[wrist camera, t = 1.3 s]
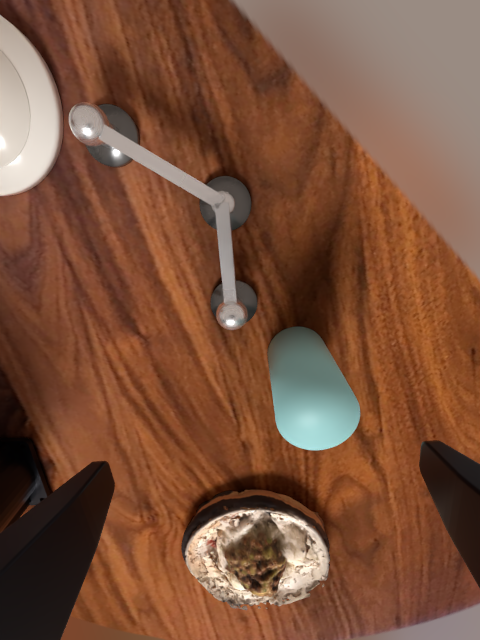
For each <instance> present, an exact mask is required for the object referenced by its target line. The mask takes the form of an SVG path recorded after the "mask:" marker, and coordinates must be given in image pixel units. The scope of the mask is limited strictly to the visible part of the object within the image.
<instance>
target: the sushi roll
mask: <svg viewBox="0 0 480 640" xmlns="http://www.w3.org/2000/svg"><path fill="white" fill-rule="evenodd" d="M181 549H182V553H183V558H184V560H185V562H186V564H187V567H188V569H189V570H190V572H191V574H193V575H194V576H195V577H196V579H198V582H200V583H201V584H202V585H203V586H204V587H205V588H206V589H207V591H208V592H209V593H211V594H213V596H214V597H215V598H216V599H218V600H221V601H223V602H227V603H228V604H229V605H230V607H232V608H237V607H236V606H238V607H239V609H244V610H247V607H246V606H245V605H244V606H243V607H242V608H240V605H241V604H249V605H250V606H253V605H255V604H256V605H259V602H262V603H264V604H266V602H269V603H270V604H272V603H273V604H274V605H278V606H281V605H282V604H289V603H292V602H293V601H297V600H300V599H303V598H305V597H309V596H310V593H308V592H309V591H311V590H312V589H313V588H314V587H316V585H318V584H320V582H319V580H321V581H322V580H326V579H327V577H328V569H329V566H330V564H329V561H330V555H329V541H328V538H327V535H326V533H325V530H324V524H323V519H321V518H320V517H319V515H318V512H317V513H316V512H312V511H310V510H309V509H308V508H307V507H305V506H303V505H302V504H300V503H299V502H297V501H296V500H293V498H291V497H288V496H286V495H283V494H278V493H274V492H272V491H266V490H245V491H244V492H241V493H238V492H234V491H231V490H230V491H225V492H222V493H220V494H217V495H216V496H214V497H213V499H212V500H210V501H206V502H204V503H202V504H201V505H200V506H199V509H198V510H197V511H196V515H195V516H194V517H193V518H192V520H191V522H190V524H189V525H188V527H187V528H186V530H185V533H184V536H183V540H182V548H181ZM193 575H192V576H193ZM323 586H324V584H323V585H322V587H323ZM307 593H308V594H307ZM287 598H288V599H290V600H289V601H288V600H286V599H287ZM271 599H272V600H271ZM282 600H285V602H283V601H282ZM232 604H233V605H232ZM258 608H259V609H260V608H261V607H259V606H258ZM266 609H267V608H266Z"/></svg>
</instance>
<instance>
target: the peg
mask: <svg viewBox="0 0 480 640" xmlns="http://www.w3.org/2000/svg"><path fill="white" fill-rule="evenodd" d="M268 363H269V371H270V379H271V387H272V395H273V402H274V410H275V418H276V424H277V428H278V430H279V432H280V433H281V435H282V436H283V437H284V438H285V439H286V440H287V441H288V442H290V443H291V444H293V445H295V446H297V447H299V448H302V449H307V450H324V449H328V448H332V447H334V446H337V445H339V444H340V443H342V442H344V441H345V440H346V439H348V438H349V437H350V436H351V434H352V433H353V432H354V431H355V429H356V427H357V425H358V422H359V419H360V407H359V403H358V401H357V399H356V397H355V395H354V393H353V392H352V390H351V388H350V386H349V385H348V383H347V381H346V380H345V378H344V376H343V374H342V373H341V371H340V369H339V367H338V366H337V364H336V362H335V361H334V359H333V357H332V355H331V354H330V352H329V350H328V348H327V347H326V345H325V343H324V342H323V340H322V338H321V337H320V336H319V335H318V334H317V333H316V332H315V331H313V330H311V329H309V328H305V327H290V328H287V329H284V330H283V331H281V332H279V333H278V334H277V335H276V336H275V337H274V338H273V339H272V341H271V342H270V345H269V347H268Z"/></svg>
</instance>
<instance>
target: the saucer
mask: <svg viewBox="0 0 480 640" xmlns="http://www.w3.org/2000/svg"><path fill="white" fill-rule="evenodd" d="M63 128H64V122H63V110H62V104H61V99H60V96H59V92H58V89H57V86H56V83H55V81H54V78H53V76H52V74H51V72H50V70H49V68H48V66H47V64H46V62H45V61H44V59H43V58H42V56H41V54H40V53H39V51H38V50H37V49H36V48H35V46H34V45H33V44H32V43H31V41H30V40H29V39H28V38H27V37H26V36H25V35H24V34H23V33H22V32H21V31H20V30H18V29H17V28H16V27H15V26H13V25H12V24H11V23H10V22H8V21H7V20H6V19H5V18H3V17H2V16H1V15H0V196H11V195H17V194H20V193H23V192H26V191H28V190H30V189H32V188H34V187H35V186H36V185H38V184H39V183H40V182H42V181H43V180H44V178H45V177H46V176H47V175H48V174H49V173H50V171H51V170H52V168H53V167H54V165H55V163H56V160H57V158H58V156H59V152H60V149H61V145H62V140H63Z"/></svg>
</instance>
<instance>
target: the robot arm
mask: <svg viewBox="0 0 480 640" xmlns="http://www.w3.org/2000/svg"><path fill="white" fill-rule="evenodd" d="M419 467H420V471H421V474H422V476H423V479H424V481H425V483H426V485H427V487H428V490H429V492H430V494H431V496H432V499H433V501H434V503H435V505H436V507H437V510H438V512H439V514H440V516H441V518H442V521H443V523H444V525H445V527H446V529H447V531H448V533H449V535H450V537H451V539H452V540H453V542H454V544H455V546H456V547H457V549H458V551H459V553H460V555H461V556H462V558H463V560H464V562H465V563H466V565H467V567H468V569H469V570H470V572H471V574H472V576H473V577H474V579H475V581H476V583H477V584H478V586H479V588H480V464H478V463H477V462H475V461H473V460H472V459H470V458H468V457H467V456H465V455H463V454H461V453H460V452H458V451H456V450H455V449H453V448H451V447H449V446H448V445H446V444H444V443H443V442H441V441H438V440H433V441H424V442H422V444H421V452H420V462H419ZM114 487H115V483H114V479H113V476H112V473H111V469H110V466H109V463H108V462H107V461H95V462H92V463H90V464H89V465H88V466H86V467H85V468H84V469H83V470H81V471H80V472H79V473H77V474H76V475H75V476H73V477H72V478H71V479H70V480H68V481H67V482H66V483H64V484H63V485H62V486H61V487H59V488H58V489H57V490H55V491H54V492H53V493H50V490H49V488H48V485H47V482H46V479H45V476H44V474H43V471H42V468H41V465H40V462H39V460H38V457H37V454H36V451H35V449H34V446H33V443H32V441H31V440H30V439H28V438H2V439H0V640H60V639H61V637H62V634H63V631H64V629H65V627H66V624H67V622H68V619H69V617H70V614H71V612H72V609H73V607H74V604H75V602H76V599H77V597H78V594H79V592H80V589H81V587H82V584H83V582H84V579H85V577H86V574H87V572H88V569H89V567H90V564H91V562H92V559H93V556H94V554H95V551H96V548H97V546H98V543H99V539H100V536H101V533H102V530H103V526H104V523H105V519H106V516H107V513H108V509H109V506H110V503H111V499H112V496H113V492H114ZM29 505H36V506H35V507H33V508H32V509H31V510H29V511H28V512H27V513H26V514H24V515H23V516H22V517H20V516H21V515H22V514H23V512H24V511H25V510H26V508H27V507H28V506H29Z"/></svg>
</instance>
